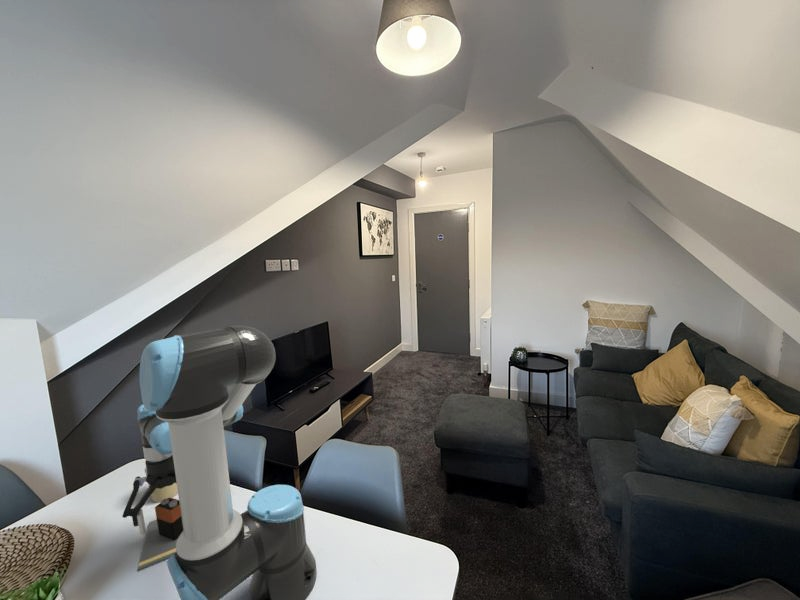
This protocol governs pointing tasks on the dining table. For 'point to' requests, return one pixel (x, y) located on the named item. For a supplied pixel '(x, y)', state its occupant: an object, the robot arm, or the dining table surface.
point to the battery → (169, 518)
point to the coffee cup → (163, 492)
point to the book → (155, 547)
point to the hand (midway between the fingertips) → (172, 522)
